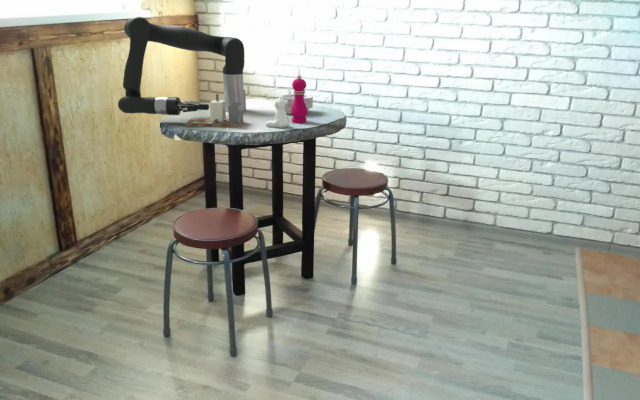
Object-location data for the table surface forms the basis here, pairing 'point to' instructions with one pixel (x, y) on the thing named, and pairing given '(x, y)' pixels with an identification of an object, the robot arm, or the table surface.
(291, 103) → the paper bowls
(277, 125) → the white creature statuette
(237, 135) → the table surface
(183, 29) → the robot arm
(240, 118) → the grey rectangular block
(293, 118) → the pepper mill
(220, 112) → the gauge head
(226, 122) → the brown wooden board
